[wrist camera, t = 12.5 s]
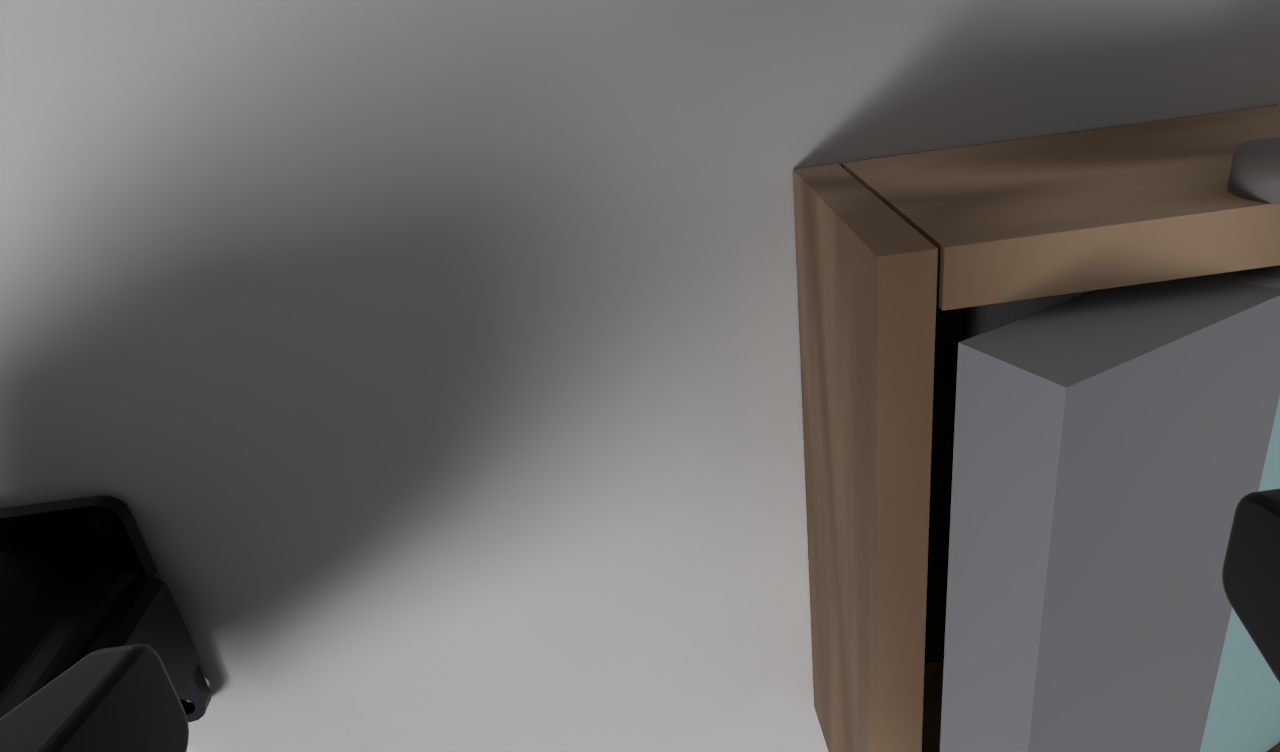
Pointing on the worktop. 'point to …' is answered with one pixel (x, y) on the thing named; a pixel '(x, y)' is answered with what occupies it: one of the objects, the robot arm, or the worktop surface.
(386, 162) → the worktop surface
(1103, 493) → the trapdoor flap
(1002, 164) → the walnut stand
